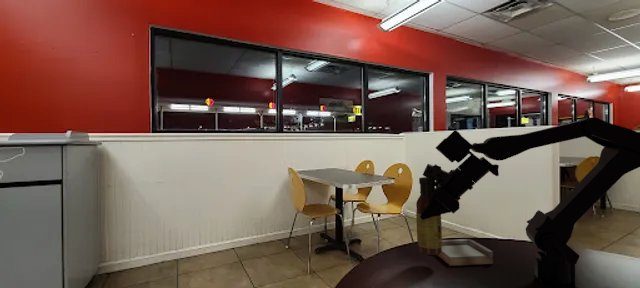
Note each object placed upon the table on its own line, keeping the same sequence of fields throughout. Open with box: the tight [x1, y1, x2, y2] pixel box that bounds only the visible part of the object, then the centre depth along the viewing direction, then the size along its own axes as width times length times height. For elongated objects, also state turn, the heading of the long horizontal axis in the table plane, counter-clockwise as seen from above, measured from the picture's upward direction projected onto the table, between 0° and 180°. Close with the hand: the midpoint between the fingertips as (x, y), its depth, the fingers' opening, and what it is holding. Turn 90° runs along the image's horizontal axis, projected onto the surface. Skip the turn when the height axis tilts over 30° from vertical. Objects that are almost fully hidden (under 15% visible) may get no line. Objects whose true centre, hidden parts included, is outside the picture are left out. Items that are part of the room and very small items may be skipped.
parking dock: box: [436, 238, 494, 267], centre depth 80 cm, size 12×10×3 cm
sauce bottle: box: [415, 176, 443, 256], centre depth 75 cm, size 6×6×20 cm
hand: (421, 215), depth 76 cm, fingers closed on sauce bottle, 6 cm apart
